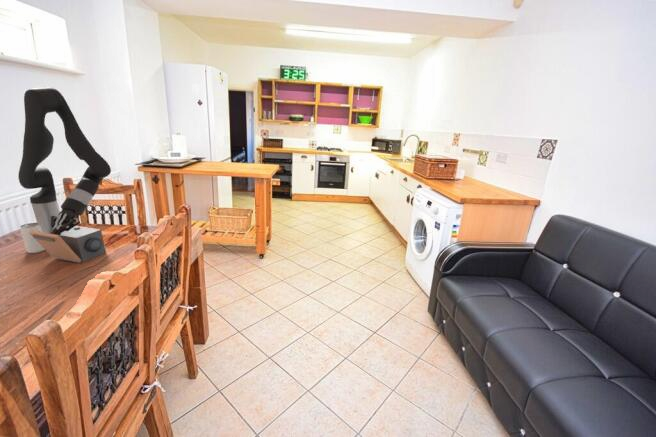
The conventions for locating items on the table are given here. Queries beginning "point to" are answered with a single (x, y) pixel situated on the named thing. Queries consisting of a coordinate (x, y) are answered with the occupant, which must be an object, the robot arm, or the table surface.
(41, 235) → the side door
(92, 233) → the camera body
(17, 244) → the table surface
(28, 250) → the can
